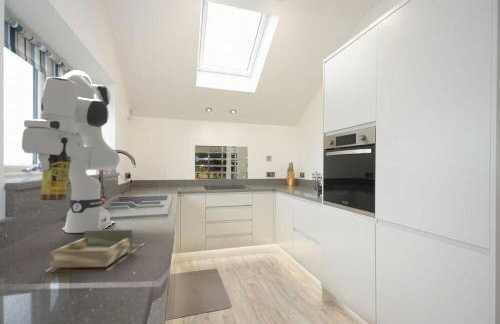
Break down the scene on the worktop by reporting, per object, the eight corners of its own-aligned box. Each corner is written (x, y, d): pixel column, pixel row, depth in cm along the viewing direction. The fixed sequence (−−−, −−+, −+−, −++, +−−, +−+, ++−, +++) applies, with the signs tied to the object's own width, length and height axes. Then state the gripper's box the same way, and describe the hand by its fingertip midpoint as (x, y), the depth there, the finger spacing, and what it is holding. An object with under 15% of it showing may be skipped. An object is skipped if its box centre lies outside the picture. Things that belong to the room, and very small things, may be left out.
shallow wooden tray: (85, 252, 71) (87, 229, 71) (131, 252, 72) (132, 229, 72) (49, 271, 57) (50, 242, 57) (105, 270, 58) (107, 242, 58)
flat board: (99, 247, 80) (99, 243, 80) (145, 246, 81) (145, 242, 81) (44, 275, 57) (45, 270, 57) (109, 274, 58) (109, 269, 58)
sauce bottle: (51, 201, 66) (55, 135, 68) (34, 200, 68) (38, 135, 69) (72, 199, 73) (76, 138, 74) (57, 198, 74) (60, 139, 75)
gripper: (72, 133, 82) (70, 170, 81) (18, 119, 62) (14, 169, 61) (90, 133, 82) (88, 171, 81) (42, 119, 62) (38, 169, 61)
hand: (56, 170), depth 71 cm, fingers closed on sauce bottle, 6 cm apart
